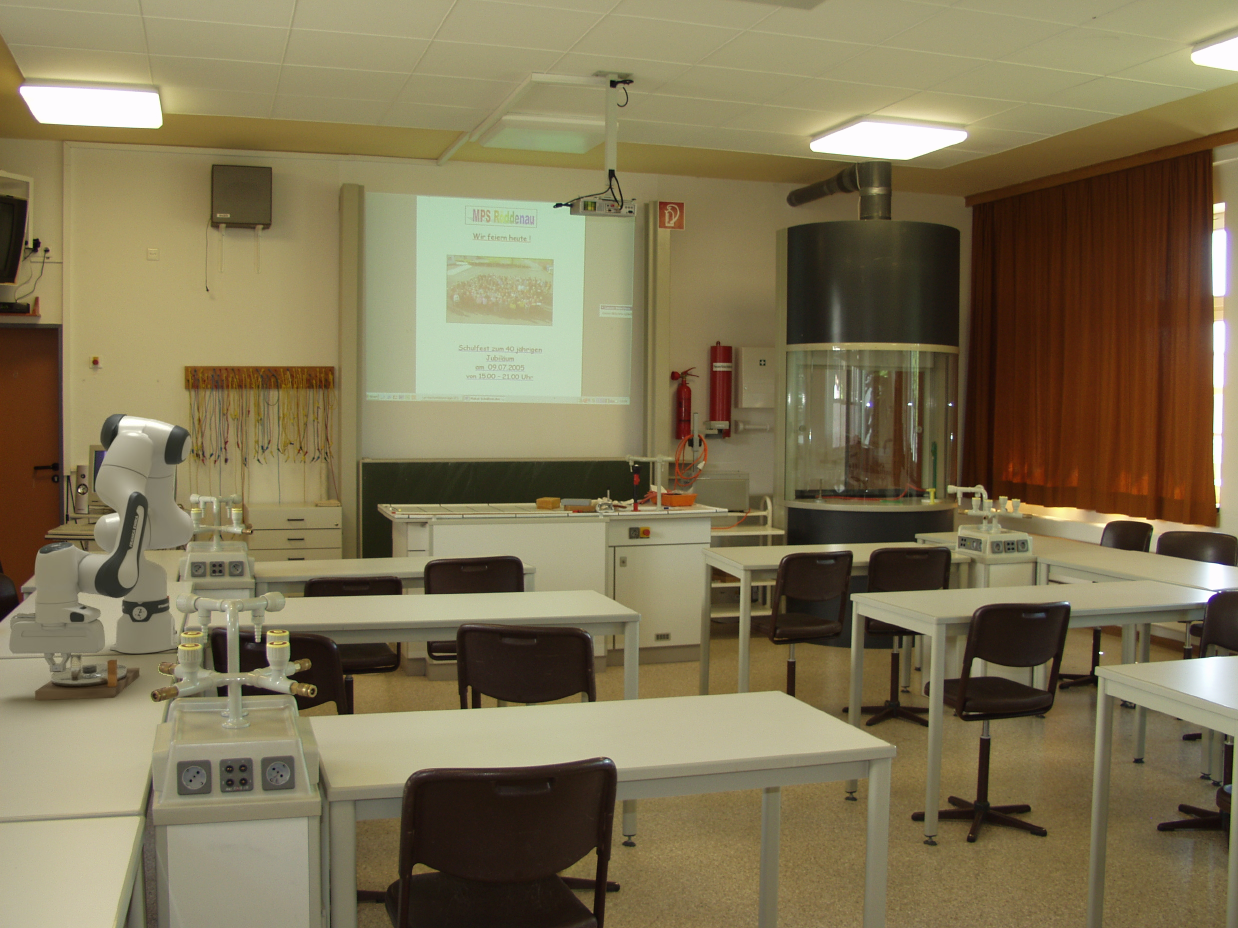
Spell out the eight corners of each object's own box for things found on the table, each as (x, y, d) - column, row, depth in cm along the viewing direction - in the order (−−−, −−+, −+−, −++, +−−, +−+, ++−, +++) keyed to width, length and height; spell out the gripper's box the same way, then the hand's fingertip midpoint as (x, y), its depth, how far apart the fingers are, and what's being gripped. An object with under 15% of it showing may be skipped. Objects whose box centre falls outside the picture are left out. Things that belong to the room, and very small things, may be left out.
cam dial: (70, 669, 250) (69, 641, 250) (136, 669, 252) (136, 640, 251) (38, 687, 234) (38, 656, 234) (110, 686, 235) (109, 655, 235)
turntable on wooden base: (66, 677, 251) (66, 645, 251) (139, 675, 254) (139, 644, 254) (35, 699, 232) (34, 665, 231) (114, 697, 235) (114, 663, 234)
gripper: (3, 615, 231) (4, 675, 231) (96, 615, 233) (96, 674, 233) (17, 610, 237) (18, 668, 238) (107, 610, 239) (108, 667, 239)
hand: (57, 671), depth 235 cm, fingers closed
